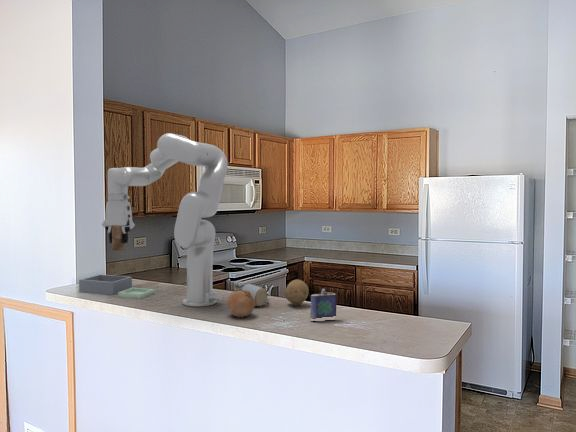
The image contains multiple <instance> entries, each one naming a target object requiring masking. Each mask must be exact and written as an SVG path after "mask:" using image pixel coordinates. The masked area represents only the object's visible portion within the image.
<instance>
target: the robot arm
mask: <svg viewBox="0 0 576 432" xmlns="http://www.w3.org/2000/svg"><path fill="white" fill-rule="evenodd" d="M149 159H150V163H149V164H147V165H146V166H144V167H135V166H134V167H133V166H124V167H111V168H108V170H107V202H106V205H105V214H104V220H103V222H102V223H101V225H102V227H103V228H104V229H105V230H106V232H107V233H108V237H109V238H108V241H109V243H110V244H112V225H114V226H121V228H122V231H123V234H122V243H125V244H127V243H128V242H129V233H130V232H131V230H132V229H133V228H134V227H136V224H135V223H134V221H133V212H132V206H131V202H130V201H129V200H130V198H131V196H130V195H129V194H128V188H129V187H145V186H149V185H150V184H151V185H152V184H153V183H155V182H156V181H157V180H159V179H161V177H163V175H164V173H165V172H166V169H169V168H170V167H171V166H173V165H175V164H177V163H179V162H180V163H184V164H186V165H190V166H195V167H205V170H204V172H203V174H202V175H201V177H200V181H199V185H198V189H197V191H190V192H188V193H186V194H185V195H184V196H183V198H182V199H181V201H180V202H179V206H178V211H177V214H176V215H177V216H176V219H175V224H174V230H173V236H174V241H175V242H176V244H177V245H178V246H180V247H182V248H188V251H187V256H186V297H185V298H183V299H182V304H183V305H184V306H187V307H197V308H198V307H210V306H212V305H215V304H216V303H217V301H220V302H221V301H222V300H223V297H222V294H218V293H217V294H216V290H215V289H213V275H214V273H213V270H214V269H213V268H214V267H213V266H214V265H213V262H214V261H213V260H214V246H215V240H216V228H215V226H214V225H213V223H211V221H209V220H206V219H204V218H210V217H213V216H214V215H216V214H217V212H218V209H219V205H220V200H221V196H222V191H223V187H224V182H225V179H226V175H227V172H228V159H227V156H226V154H225V153H224V151H223V150H222V149H221V148H219V147H218V146H217V145H214V144H209V143H205V142H198V141H194V140H190V139H189V138H188V137H187V136H186V135H185V136H184V135H181V134H176V133H170V132H168V133H164V134H163V135H161V136H160V137H159V138H158V140H157V144H156V148H155V149H153V150H152V151H151V152H150V155H149ZM128 186H129V187H128Z"/></svg>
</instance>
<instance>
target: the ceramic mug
mask: <svg viewBox="0 0 576 432" xmlns="http://www.w3.org/2000/svg"><path fill="white" fill-rule="evenodd" d="M242 290H247V291H249V292H250V294H251V295H252V297H253V298H254V301H255V305H254V307H256V306H260V307H262V305H263V306H265V304H269V301H270V298H268V292H267V290H266V289H265V288H263V287H261V286H257V285H254V284H253V283H246V284H245V285H243V286H242V288H241V289H240V291H242ZM265 302H267V303H265Z"/></svg>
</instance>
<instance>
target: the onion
mask: <svg viewBox="0 0 576 432" xmlns="http://www.w3.org/2000/svg"><path fill="white" fill-rule="evenodd" d="M241 290H242V289H241ZM241 290H235V291H233V292H231V293H230V294H229V296H228V297H227V301H226V306H227V307H226V308H227V309H228V311H229V313H230V314H231V315H232V317H235V316H238V318H240V317H241V318H245V317H244V316H246V317H248V316H250V315H251V314H252V312H253V311H254V310H255V306H254V305H255V301H254V298H253V297H252V295H251V294H250V292H249V291H247V290H242V291H241Z"/></svg>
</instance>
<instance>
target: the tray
mask: <svg viewBox="0 0 576 432" xmlns="http://www.w3.org/2000/svg"><path fill="white" fill-rule="evenodd" d="M154 294H155V289H154V288H146V287H145V288H142V287H141V288H140V287H132V288H130V289H127V290H124V291H121V292H118V293H117V297H118V298H122V299H123V298H125V299H136V300H142V299H145V298H147V297H149V296H152V295H154Z"/></svg>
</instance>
